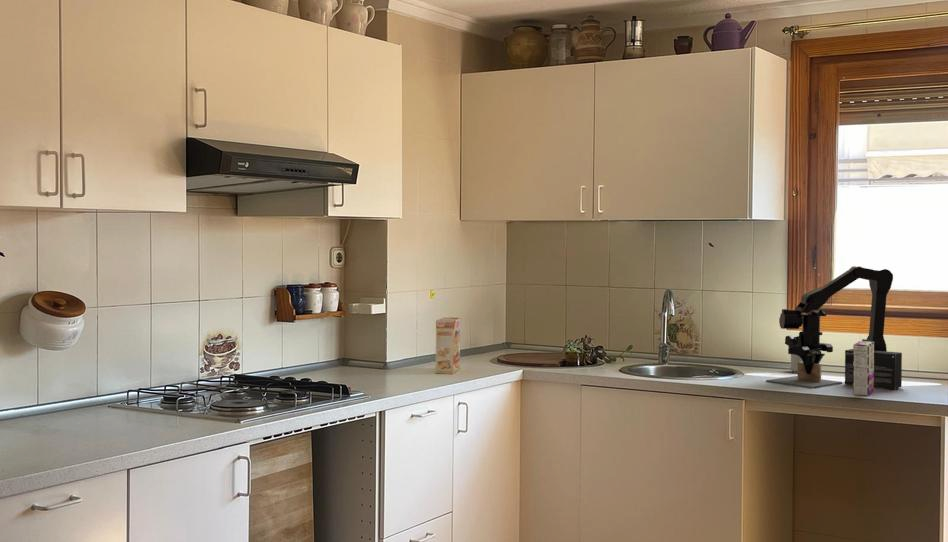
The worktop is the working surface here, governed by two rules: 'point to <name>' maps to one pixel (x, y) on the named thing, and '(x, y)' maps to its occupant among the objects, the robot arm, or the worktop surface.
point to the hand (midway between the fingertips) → (810, 373)
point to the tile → (810, 373)
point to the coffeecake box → (448, 345)
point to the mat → (803, 382)
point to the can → (795, 362)
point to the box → (879, 369)
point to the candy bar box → (863, 368)
